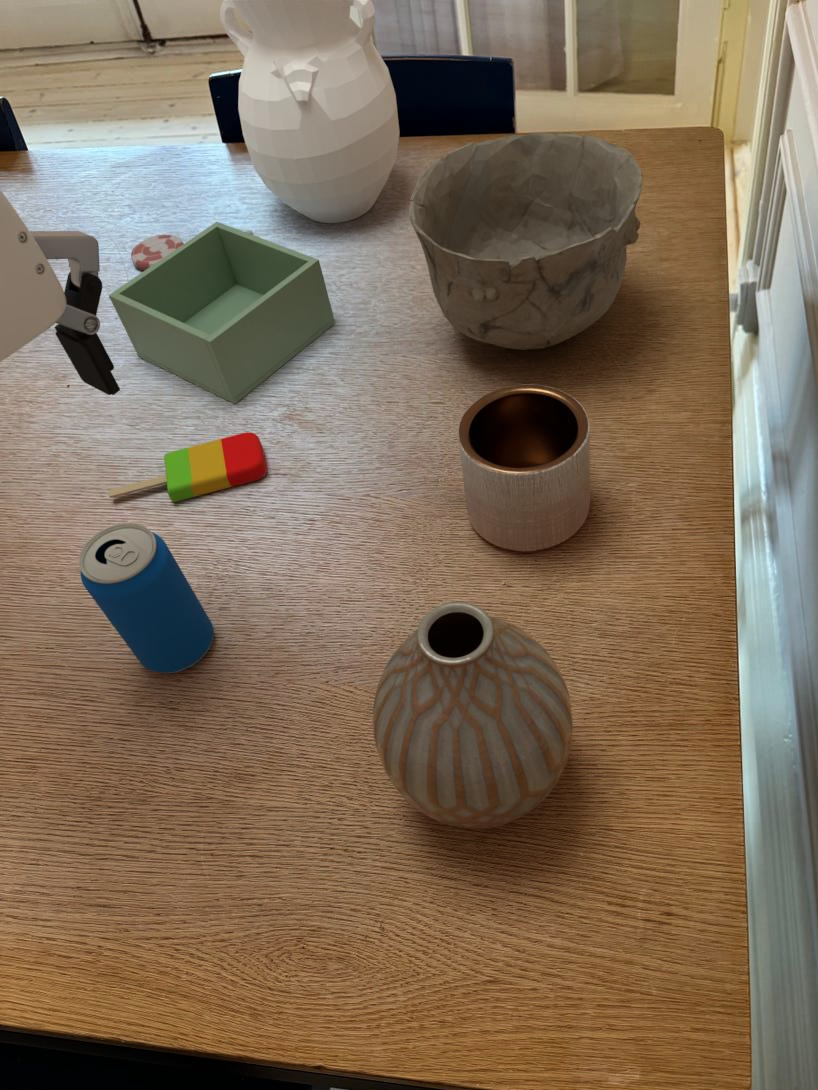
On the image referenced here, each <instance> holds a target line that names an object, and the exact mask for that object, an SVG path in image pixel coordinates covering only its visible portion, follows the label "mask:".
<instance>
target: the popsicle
mask: <svg viewBox="0 0 818 1090" xmlns="http://www.w3.org/2000/svg"><path fill="white" fill-rule="evenodd" d="M163 459H164V467H165V469H164V470H165V474H164V475H159V476H155V477H152V478H147V479H144V480H141V481H137V482H133V483H129V484H125V485H122V486H121V485H120V486H118V487H114V488H111V489H109V490H108V491H107V495H108V497H109V498H110V499H114V498H118V497H122V496H125V495H126V496H127V495H129V494H134V493H136V492H140V491H144V490H148V489H151V488H155V487H159V486H164V485H166V487H167V494H168V496H169V498H170V500H171V502H173V503H176V502H180V501H184V500H188V499H191V498H195V497H199V496H203V495H206V494H211V493H214V492H217V491H222V490H225V489H229V488H232V487H236V486H241V485H244V484H247V483H251V482H255V481H257V480H260V479H262V478H263V477H264V476H266V474H267V462H266V457H265V452H264V448H263V445H262V442H261V440H260V437H259V436H258V435H257V434H256V433H254V432H242V433H237V434H235V435H231V436H227V437H222V438H219V439H216V440H212V441H208V442H204V443H200V444H197V445H193V446H189V447H185V448H181V449H177V450H174V451H170V452H166V453H165V454H164V456H163Z"/></svg>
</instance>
